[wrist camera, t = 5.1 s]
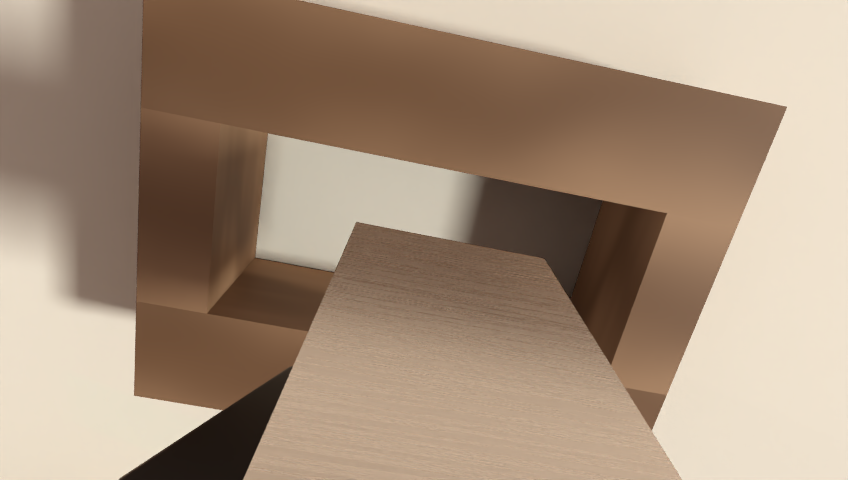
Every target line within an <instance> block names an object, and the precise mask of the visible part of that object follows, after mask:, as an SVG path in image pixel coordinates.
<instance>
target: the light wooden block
mask: <svg viewBox="0 0 848 480" xmlns="http://www.w3.org/2000/svg"><path fill="white" fill-rule="evenodd" d="M243 480H682V479H681V477H680V476H679V474H678V473H677V471H676V469H675V468H674V466H673V464H672V463H671V461H670V460H669V458H668V456H667V455H666V453H665V452H664V450H663V448H662V447H661V445H660V444H659V442H658V440H657V439H656V437H655V436H654V434H653V432H652V431H651V429H650V428H649V426H648V424H647V423H646V421H645V419H644V418H643V416H642V415H641V413H640V411H639V410H638V408H637V407H636V405H635V403H634V402H633V400H632V399H631V397H630V395H629V394H628V392H627V391H626V389H625V387H624V386H623V384H622V383H621V381H620V379H619V378H618V376H617V374H616V373H615V371H614V370H613V368H612V366H611V365H610V363H609V362H608V360H607V358H606V357H605V355H604V354H603V352H602V350H601V349H600V347H599V346H598V344H597V342H596V341H595V339H594V338H593V336H592V334H591V333H590V331H589V329H588V328H587V326H586V325H585V323H584V321H583V320H582V318H581V317H580V315H579V313H578V312H577V310H576V309H575V307H574V305H573V304H572V302H571V301H570V299H569V297H568V296H567V294H566V293H565V291H564V289H563V288H562V286H561V285H560V283H559V281H558V280H557V278H556V276H555V275H554V273H553V272H552V270H551V268H550V267H549V265H548V264H547V262H546V260H545V259H544V258H540V257H534V256H529V255H524V254H519V253H514V252H508V251H503V250H498V249H493V248H488V247H483V246H477V245H472V244H467V243H462V242H457V241H452V240H446V239H441V238H436V237H431V236H426V235H421V234H415V233H410V232H405V231H400V230H395V229H390V228H384V227H379V226H374V225H369V224H364V223H359V222H356V224H355V227H354V229H353V231H352V233H351V236H350V238H349V240H348V243H347V245H346V247H345V249H344V252H343V254H342V256H341V258H340V261H339V263H338V265H337V268H336V270H335V272H334V274H333V277H332V279H331V281H330V283H329V286H328V288H327V290H326V293H325V295H324V297H323V299H322V302H321V304H320V306H319V308H318V311H317V313H316V315H315V318H314V320H313V322H312V324H311V327H310V329H309V331H308V333H307V336H306V338H305V340H304V343H303V345H302V347H301V349H300V352H299V354H298V356H297V358H296V361H295V363H294V365H293V368H292V370H291V372H290V374H289V377H288V379H287V381H286V384H285V386H284V388H283V390H282V393H281V395H280V397H279V399H278V402H277V404H276V406H275V409H274V411H273V413H272V415H271V418H270V420H269V422H268V424H267V427H266V429H265V431H264V434H263V436H262V438H261V440H260V443H259V445H258V447H257V449H256V452H255V454H254V456H253V459H252V461H251V463H250V465H249V468H248V470H247V472H246V474H245V477H244V479H243Z"/></svg>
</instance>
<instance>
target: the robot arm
mask: <svg viewBox="0 0 848 480" xmlns="http://www.w3.org/2000/svg"><path fill="white" fill-rule="evenodd" d="M292 368H293V366H291V367H288V368H287V369H285V370H284V371H282V372H281V373H279V374H278V375H276V376H275V377H273V378H272V379H270V380H269V381H267V382H266V383H264V384H263V385H261V386H259V387H258V388H256V389H255V390H253V391H252V392H250V393H249V394H247V395H246V396H244V397H243V398H241V399H240V400H238V401H237V402H235V403H234V404H232V405H231V406H229V407H228V408H226V409H224V410H223V411H221V412H220V413H218V414H217V415H215V416H214V417H212V418H211V419H209V420H208V421H206V422H205V423H203V424H202V425H200V426H199V427H197V428H196V429H194V430H193V431H191V432H189V433H188V434H186V435H185V436H183V437H182V438H180V439H179V440H177V441H176V442H174V443H173V444H171V445H170V446H168V447H167V448H165V449H164V450H162V451H161V452H159V453H158V454H156V455H154V456H153V457H151V458H150V459H148V460H147V461H145V462H144V463H142V464H141V465H139V466H138V467H136V468H135V469H133V470H132V471H130V472H129V473H127V474H126V475H124V476H123V477H121V478H120V479H119V480H243V479H244V477H245V474H246V472H247V470H248V468H249V465H250V463H251V461H252V459H253V456H254V454H255V452H256V449H257V447H258V445H259V443H260V440H261V438H262V436H263V434H264V431H265V429H266V427H267V424H268V422H269V420H270V418H271V415H272V413H273V411H274V409H275V406H276V404H277V402H278V399H279V397H280V395H281V393H282V390H283V388H284V386H285V384H286V381H287V379H288V377H289V374H290V372H291V370H292Z"/></svg>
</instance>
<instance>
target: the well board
mask: <svg viewBox="0 0 848 480" xmlns="http://www.w3.org/2000/svg"><path fill="white" fill-rule="evenodd" d="M786 108H787V107H785V106H780V105H776V104H771V103H766V102H762V101H757V100H753V99H748V98H744V97H739V96H734V95H730V94H725V93H721V92H716V91H712V90H707V89H702V88H698V87H693V86H689V85H684V84H679V83H675V82H670V81H666V80H661V79H657V78H652V77H647V76H643V75H638V74H634V73H629V72H625V71H620V70H615V69H611V68H606V67H602V66H597V65H592V64H588V63H583V62H579V61H574V60H570V59H565V58H560V57H556V56H551V55H547V54H542V53H538V52H533V51H528V50H524V49H519V48H515V47H510V46H505V45H501V44H496V43H492V42H487V41H483V40H478V39H473V38H469V37H464V36H460V35H455V34H451V33H446V32H441V31H437V30H432V29H428V28H423V27H418V26H414V25H409V24H405V23H400V22H396V21H391V20H386V19H382V18H377V17H373V16H368V15H364V14H359V13H354V12H350V11H345V10H341V9H336V8H331V7H327V6H322V5H318V4H313V3H309V2H304V1H299V0H143V36H142V80H141V123H140V166H139V209H138V253H137V296H136V339H135V382H134V396H140V397H146V398H152V399H158V400H164V401H171V402H177V403H183V404H189V405H195V406H201V407H207V408H213V409H219V410H224V409H226V408H228V407H229V406H231V405H232V404H234V403H235V402H237V401H238V400H240V399H241V398H243V397H244V396H246V395H247V394H249V393H250V392H252V391H253V390H255V389H256V388H258V387H259V386H261V385H263V384H264V383H266V382H267V381H269V380H270V379H272V378H273V377H275V376H276V375H278V374H279V373H281V372H282V371H284V370H285V369H287V368H288V367H291V366H293V365H294V363H295V361H296V358H297V356H298V354H299V352H300V349H301V347H302V345H303V343H304V340H305V338H306V336H307V333H308V331H309V329H310V327H311V324H312V322H313V320H314V318H315V315H316V313H317V311H318V308H319V306H320V304H321V302H322V299H323V297H324V295H325V293H326V290H327V288H328V286H329V283H330V281H331V279H332V277H333V274H334V273H333V272H328V271H322V270H317V269H312V268H306V267H301V266H295V265H290V264H285V263H279V262H274V261H268V260H263V259H257V258H255V253H256V243H257V234H258V224H259V214H260V204H261V195H262V185H263V175H264V165H265V155H266V146H267V136H268V133H270V134H275V135H280V136H285V137H290V138H295V139H300V140H305V141H310V142H315V143H320V144H325V145H330V146H335V147H340V148H344V149H349V150H354V151H359V152H364V153H369V154H374V155H379V156H384V157H389V158H394V159H399V160H404V161H409V162H414V163H419V164H424V165H429V166H434V167H439V168H444V169H449V170H454V171H459V172H464V173H469V174H474V175H479V176H484V177H489V178H494V179H499V180H504V181H509V182H514V183H519V184H524V185H529V186H534V187H539V188H544V189H549V190H554V191H559V192H564V193H569V194H573V195H578V196H583V197H588V198H593V199H598V200H603V202H602V205H601V208H600V211H599V214H598V217H597V220H596V223H595V226H594V229H593V232H592V235H591V239H590V242H589V245H588V248H587V251H586V254H585V257H584V260H583V263H582V266H581V269H580V272H579V276H578V279H577V282H576V285H575V288H574V291H573V294H572V297H571V300H570V301H571V302H572V304H573V305H574V307H575V309H576V310H577V312H578V313H579V315H580V317H581V318H582V320H583V321H584V323H585V325H586V326H587V328H588V329H589V331H590V333H591V334H592V336H593V338H594V339H595V341H596V342H597V344H598V346H599V347H600V349H601V350H602V352H603V354H604V355H605V357H606V358H607V360H608V362H609V363H610V365H611V366H612V368H613V370H614V371H615V373H616V374H617V376H618V378H619V379H620V381H621V383H622V384H623V386H624V387H625V389H626V391H627V392H628V394H629V395H630V397H631V399H632V400H633V402H634V403H635V405H636V407H637V408H638V410H639V411H640V413H641V415H642V416H643V418H644V419H645V421H646V423H647V424H648V426H649V428H650V429H651V431H652V429H653V426H654V424H655V421H656V419H657V417H658V414H659V412H660V409H661V407H662V405H663V402H664V400H665V398H666V395H667V393H668V390H669V388H670V386H671V383H672V381H673V378H674V376H675V374H676V371H677V369H678V366H679V364H680V362H681V359H682V357H683V355H684V352H685V350H686V347H687V345H688V343H689V340H690V338H691V335H692V333H693V331H694V328H695V326H696V323H697V321H698V319H699V316H700V314H701V312H702V309H703V307H704V304H705V302H706V300H707V297H708V295H709V292H710V290H711V288H712V285H713V283H714V280H715V278H716V276H717V273H718V271H719V269H720V266H721V264H722V261H723V259H724V257H725V254H726V252H727V249H728V247H729V245H730V242H731V240H732V237H733V235H734V233H735V230H736V228H737V226H738V223H739V221H740V218H741V216H742V214H743V211H744V209H745V206H746V204H747V202H748V199H749V197H750V194H751V192H752V190H753V187H754V185H755V183H756V180H757V178H758V175H759V173H760V171H761V168H762V166H763V163H764V161H765V159H766V156H767V154H768V151H769V149H770V147H771V144H772V142H773V140H774V137H775V135H776V132H777V130H778V128H779V125H780V123H781V120H782V118H783V116H784V113H785V111H786Z"/></svg>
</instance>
